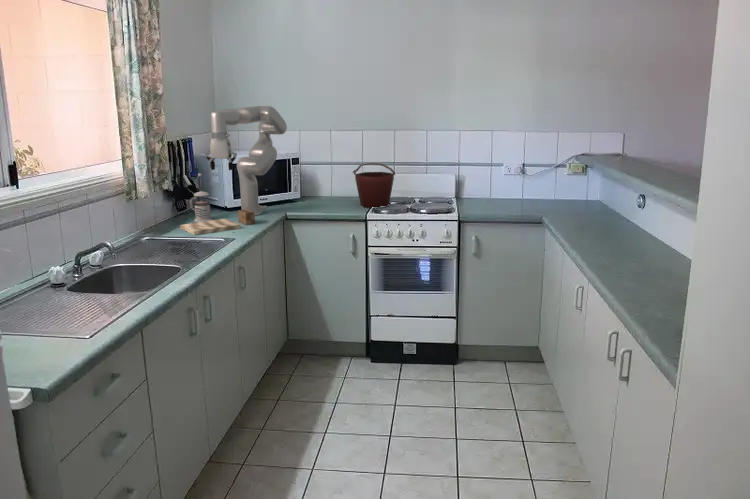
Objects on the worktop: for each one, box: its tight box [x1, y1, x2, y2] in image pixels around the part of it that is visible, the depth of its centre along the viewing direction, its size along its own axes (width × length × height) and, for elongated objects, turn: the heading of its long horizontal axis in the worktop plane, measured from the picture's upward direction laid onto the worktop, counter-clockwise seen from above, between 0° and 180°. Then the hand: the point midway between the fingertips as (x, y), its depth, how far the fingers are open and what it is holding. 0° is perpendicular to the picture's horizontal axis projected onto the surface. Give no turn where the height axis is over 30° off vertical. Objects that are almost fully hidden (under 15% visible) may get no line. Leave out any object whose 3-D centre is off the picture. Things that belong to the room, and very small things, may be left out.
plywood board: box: [179, 218, 241, 236], centre depth 313 cm, size 24×18×2 cm
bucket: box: [352, 162, 396, 209], centre depth 366 cm, size 24×22×25 cm
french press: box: [189, 173, 214, 223], centre depth 331 cm, size 10×12×25 cm
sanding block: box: [237, 209, 256, 226], centre depth 324 cm, size 5×9×6 cm, turn 37°
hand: (221, 169), depth 322 cm, fingers open, 9 cm apart
